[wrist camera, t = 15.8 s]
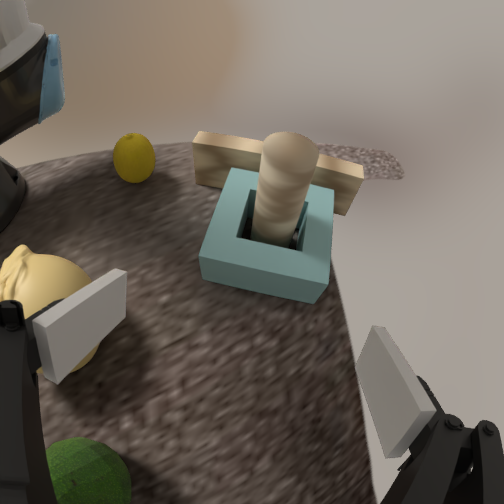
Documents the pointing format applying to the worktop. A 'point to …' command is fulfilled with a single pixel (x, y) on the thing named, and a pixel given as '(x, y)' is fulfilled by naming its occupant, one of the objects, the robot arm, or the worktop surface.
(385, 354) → the robot arm
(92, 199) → the worktop surface
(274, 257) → the socket block
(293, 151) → the dowel
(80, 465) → the avocado
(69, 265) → the sculpture
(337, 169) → the oak wall
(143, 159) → the lemon
